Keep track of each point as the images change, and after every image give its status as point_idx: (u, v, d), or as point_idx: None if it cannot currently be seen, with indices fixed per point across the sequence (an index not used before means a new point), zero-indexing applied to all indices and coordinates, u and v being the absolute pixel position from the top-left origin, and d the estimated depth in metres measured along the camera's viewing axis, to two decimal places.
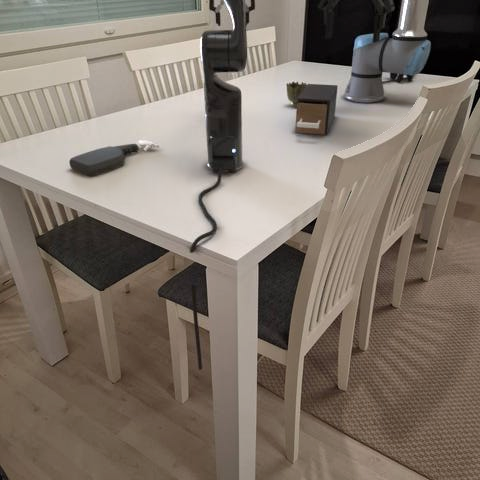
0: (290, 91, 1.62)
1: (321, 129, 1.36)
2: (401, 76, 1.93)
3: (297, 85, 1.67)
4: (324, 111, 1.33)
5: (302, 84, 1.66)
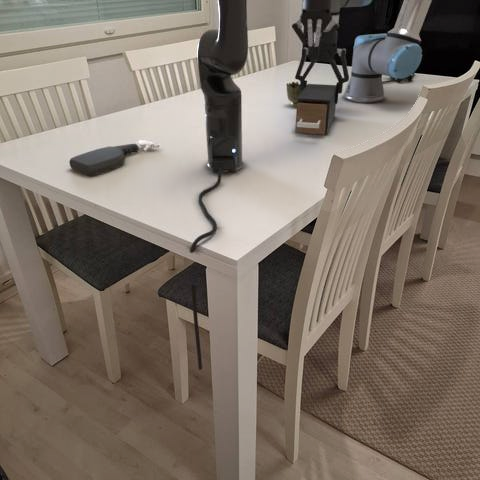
0: (290, 91, 1.62)
1: (321, 129, 1.36)
2: None
3: (297, 85, 1.67)
4: (324, 111, 1.33)
5: None
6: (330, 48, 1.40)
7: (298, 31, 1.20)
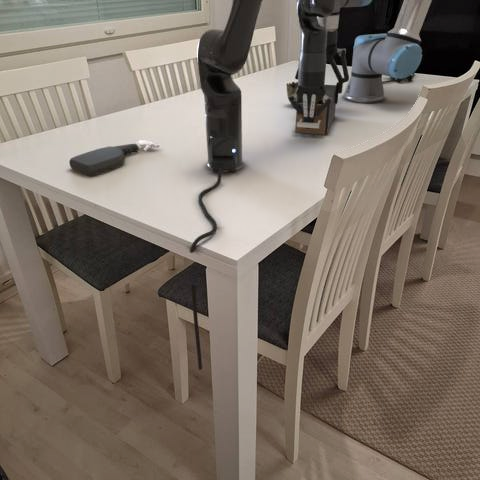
0: (290, 91, 1.62)
1: (321, 129, 1.36)
2: None
3: (297, 85, 1.67)
4: (324, 111, 1.33)
5: None
6: (330, 48, 1.40)
7: (294, 103, 1.30)
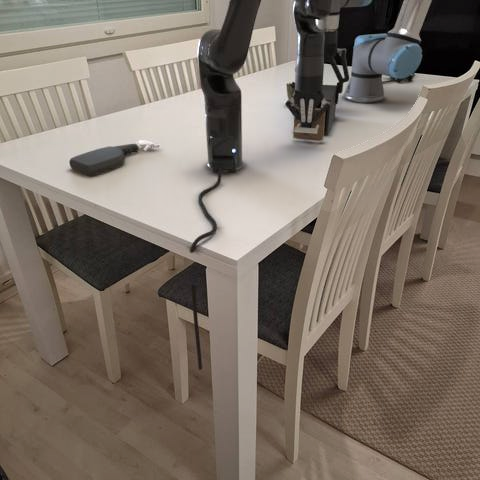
0: (290, 91, 1.62)
1: (319, 134, 1.32)
2: None
3: None
4: (322, 116, 1.29)
5: None
6: (330, 48, 1.40)
7: (291, 108, 1.26)
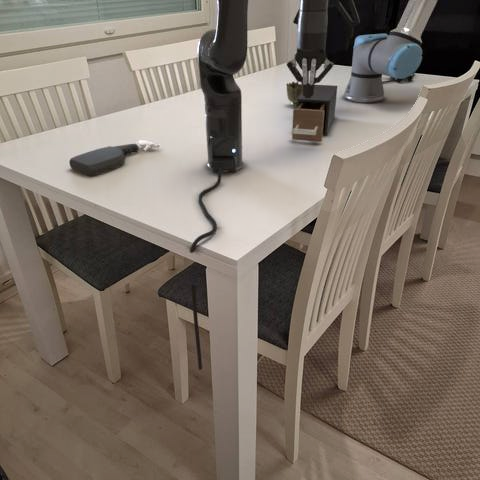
0: (290, 91, 1.62)
1: (318, 136, 1.31)
2: None
3: (297, 85, 1.67)
4: (321, 117, 1.28)
5: (302, 84, 1.66)
6: None
7: (293, 69, 1.20)
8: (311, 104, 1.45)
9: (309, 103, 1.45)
